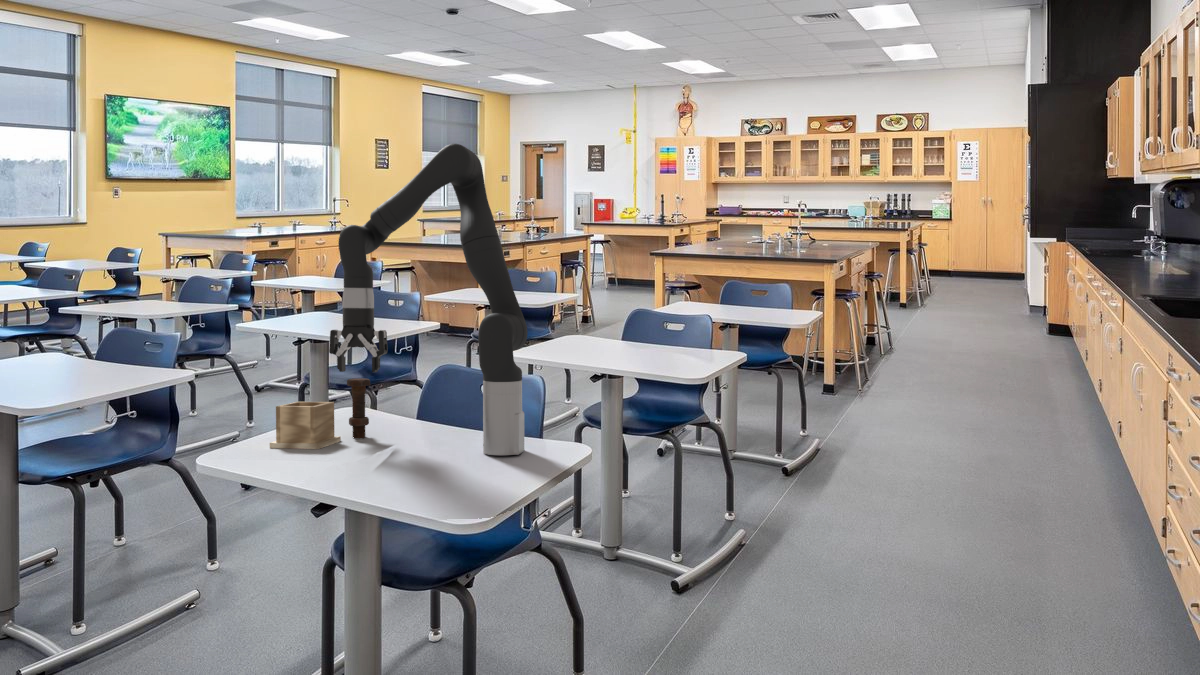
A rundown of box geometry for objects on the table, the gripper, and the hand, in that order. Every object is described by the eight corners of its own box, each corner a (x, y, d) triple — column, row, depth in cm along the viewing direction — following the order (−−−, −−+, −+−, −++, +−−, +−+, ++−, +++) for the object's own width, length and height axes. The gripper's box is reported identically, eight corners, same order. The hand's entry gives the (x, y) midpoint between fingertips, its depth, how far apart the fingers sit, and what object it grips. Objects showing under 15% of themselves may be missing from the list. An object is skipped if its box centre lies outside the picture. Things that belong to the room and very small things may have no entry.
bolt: (357, 441, 212) (357, 380, 212) (342, 439, 215) (342, 379, 214) (374, 438, 217) (374, 378, 217) (360, 437, 220) (359, 378, 219)
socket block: (340, 441, 212) (340, 401, 212) (318, 449, 201) (317, 407, 200) (294, 440, 214) (294, 401, 214) (269, 448, 202) (269, 406, 202)
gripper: (391, 306, 218) (391, 371, 218) (337, 306, 220) (337, 370, 220) (380, 306, 210) (380, 373, 211) (324, 306, 212) (324, 372, 213)
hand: (358, 371), depth 216 cm, fingers open, 8 cm apart
